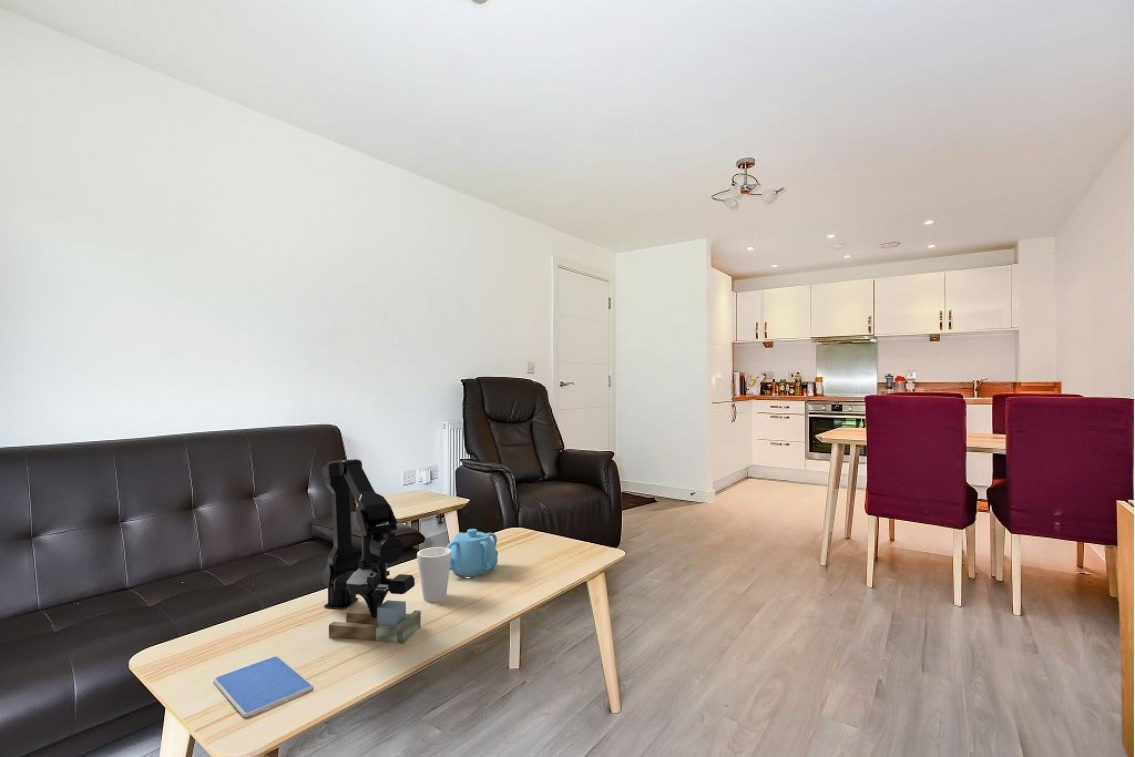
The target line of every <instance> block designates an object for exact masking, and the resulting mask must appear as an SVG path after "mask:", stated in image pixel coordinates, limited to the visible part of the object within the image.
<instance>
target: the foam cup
mask: <svg viewBox="0 0 1135 757" xmlns="http://www.w3.org/2000/svg"><path fill="white" fill-rule="evenodd" d="M446 547H447V546H446ZM446 547H444V546H436V547H435V546H433V547H428V548H423V549H421V550H419V551H417V553H416V561H417V564H418V565H417V566H418V570H419V571H418V572H419V579H420V585H421V586H420V587H421V592H422V593H421V594H422V600H423V599H424V600H423V601H424V602H426V603H437V602H441V601H444V600H446V598H447V593H448V586H449V585H448V584H449V577H450V571H451V570H450V561H451V549H449V548H446Z"/></svg>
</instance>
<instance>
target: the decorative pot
mask: <svg viewBox="0 0 1135 757" xmlns="http://www.w3.org/2000/svg"><path fill="white" fill-rule="evenodd" d="M466 530H467V531H466V532H458V533H457V534H456V535H455V536H454V537H453V540H452V541H450V542H449V543H448V544H447V545H446V548H449V549H451V561H450V570H449V571H452V572H453V573H454V574H456V575H460V576H464V577H472V578H474V577H473V576H480V575H483V574H488V573H487V572H489V573H490V572H492V571H493V570H494V569H496V566H497V564H498V556H499V551H498V550H497V549H496V547H497V543H498V537H497V535H496V534H495V533H493V532H487V533H485V532H482V531H478V529H477V528H469V529H466ZM491 537H492V538H491Z"/></svg>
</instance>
